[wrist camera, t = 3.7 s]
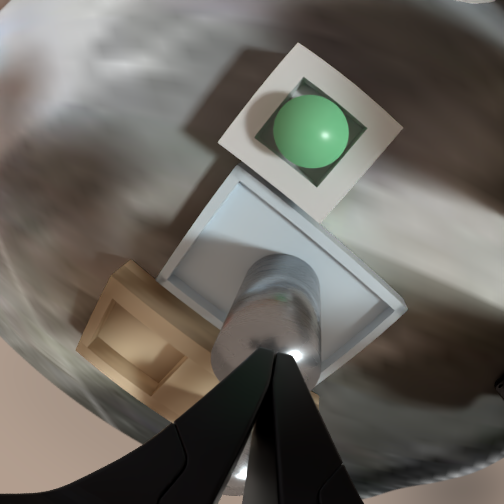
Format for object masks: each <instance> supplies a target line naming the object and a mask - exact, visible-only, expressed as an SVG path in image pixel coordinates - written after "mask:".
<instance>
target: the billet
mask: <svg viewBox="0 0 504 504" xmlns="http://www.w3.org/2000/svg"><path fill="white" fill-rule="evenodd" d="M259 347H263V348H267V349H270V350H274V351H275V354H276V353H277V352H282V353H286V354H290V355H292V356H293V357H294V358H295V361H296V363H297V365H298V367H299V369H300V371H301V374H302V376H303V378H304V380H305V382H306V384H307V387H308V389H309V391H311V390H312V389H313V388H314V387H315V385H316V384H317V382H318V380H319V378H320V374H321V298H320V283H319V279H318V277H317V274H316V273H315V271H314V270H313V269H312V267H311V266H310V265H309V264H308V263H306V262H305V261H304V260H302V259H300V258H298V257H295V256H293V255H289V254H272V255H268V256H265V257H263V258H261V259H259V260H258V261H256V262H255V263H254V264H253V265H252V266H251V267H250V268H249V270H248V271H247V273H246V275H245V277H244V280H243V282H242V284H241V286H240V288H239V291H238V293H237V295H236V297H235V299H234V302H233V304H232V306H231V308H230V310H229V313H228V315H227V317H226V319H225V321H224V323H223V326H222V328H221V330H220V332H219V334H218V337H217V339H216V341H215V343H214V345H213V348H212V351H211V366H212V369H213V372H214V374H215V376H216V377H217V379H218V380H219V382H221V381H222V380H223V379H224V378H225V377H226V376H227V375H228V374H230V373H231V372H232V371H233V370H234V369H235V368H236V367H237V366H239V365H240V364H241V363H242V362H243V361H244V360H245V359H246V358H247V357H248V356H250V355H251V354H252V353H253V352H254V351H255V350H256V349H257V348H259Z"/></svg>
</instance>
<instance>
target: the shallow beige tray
mask: <svg viewBox="0 0 504 504" xmlns="http://www.w3.org/2000/svg"><path fill="white" fill-rule="evenodd" d="M219 332H220V330H219V329H218V328H217V327H215V326H214V325H213V324H211V323H210V322H209V321H207V320H206V319H205V318H203V317H202V316H201V315H199V314H198V313H197V312H195V311H194V310H193V309H191V308H190V307H189V306H187V305H186V304H185V303H183V302H182V301H181V300H180V299H178V298H177V297H176V296H174V295H173V294H172V293H171V292H169V291H168V290H167V289H166V288H164V287H163V286H162V285H161V284H159V283H158V282H157V281H156V280H155V279H154V278H153V277H152V276H151V275H150V274H148V273H147V272H146V271H145V270H143V269H142V268H141V267H140V266H139V265H137V264H136V263H135V262H134V261H133V260H129V261H128V262H127V263H126V264H124V265H123V266H122V267H121V268H119V269H118V270H117V271H116V272H114V273H113V274H112V275H111V276H110V278H109V280H108V282H107V284H106V286H105V288H104V290H103V292H102V294H101V296H100V298H99V300H98V302H97V304H96V306H95V308H94V311H93V313H92V315H91V317H90V319H89V321H88V323H87V326H86V328H85V330H84V332H83V334H82V337H81V339H80V341H79V343H78V346H77V348H76V351H77V352H78V353H79V354H81V355H82V356H83V357H84V358H85V359H86V360H88V361H89V362H90V363H91V364H92V365H94V366H95V367H96V368H97V369H98V370H100V371H101V372H102V373H103V374H105V375H106V376H107V377H108V378H110V379H111V380H112V381H114V382H115V383H116V384H118V385H119V386H120V387H122V388H123V389H124V390H126V391H127V392H128V393H130V394H131V395H132V396H134V397H135V398H137V399H138V400H139V401H141V402H142V403H144V404H145V405H147V406H148V407H149V408H151V409H152V410H154V411H155V412H157V413H158V414H160V415H161V416H163V417H164V418H166V419H168V420H169V421H171V422H172V423H174V421H175V420H176V419H177V418H178V417H180V416H181V415H182V414H183V413H184V412H186V411H187V410H188V409H189V408H190V407H192V406H193V405H194V404H195V403H196V402H197V401H199V400H200V399H201V398H202V397H203V396H204V395H206V394H207V393H208V392H209V391H210V390H211V389H213V388H214V387H215V386H216V385H217V384H218V383H219V380H218V379H217V377H216V376H215V374H214V372H213V369H212V366H211V351H212V348H213V345H214V343H215V341H216V339H217V337H218V334H219ZM310 393H311V395H312V397H313V400H314V402H315V404H316V406H317V408H318V410H319V396H318V395H317V394H315V393H314V392H312V391H310Z"/></svg>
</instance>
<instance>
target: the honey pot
mask: <svg viewBox="0 0 504 504" xmlns="http://www.w3.org/2000/svg"><path fill="white" fill-rule="evenodd" d="M456 1H462V2H467V3H472V4H476V3H491V2H493V1H495V0H456Z"/></svg>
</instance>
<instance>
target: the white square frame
mask: <svg viewBox="0 0 504 504" xmlns="http://www.w3.org/2000/svg"><path fill="white" fill-rule="evenodd" d="M303 95H317V96H321V97H324V98H326V99H328V100H330V101H332V102H333V103H334V104H335V105H337V106H338V107H339V109H340V110H341V111H342V112H343V114H344V116H345V118H346V120H347V123H348V129H349V137H348V142H347V145H346V148H345V150H344V151H343V153H342V154H341V156H340V157H339V158H338V159H336V160H335V161H334V162H332V163H331V164H329V165H327V166H324V167H320V168H305V167H301V166H298V165H296V164H294V163H292V162H290V161H289V160H288V159H286V158H285V157H284V156H283V155H282V153H281V152H280V151H279V149H278V147H277V145H276V143H275V140H274V134H273V127H274V121H275V118H276V116H277V114H278V112H279V110H280V109H281V108H282V107H283V106H284V105H285V104H286V103H287V102H288V101H290V100H292V99H294V98H296V97H299V96H303ZM402 129H403V127H402V126H401V125H400V124H399V123H398V122H397V121H396V120H395V119H394V118H393V117H391V116H390V115H389V114H388V113H387V112H386V111H385V110H384V109H383V108H382V107H380V106H379V105H378V104H377V103H376V102H375V101H374V100H373V99H371V98H370V97H369V96H368V95H367V94H366V93H364V92H363V91H362V90H361V89H360V88H358V87H357V86H356V85H355V84H354V83H352V82H351V81H350V80H349V79H347V78H346V77H345V76H344V75H342V74H341V73H340V72H338V71H337V70H336V69H334V68H333V67H332V66H330V65H329V64H328V63H326V62H325V61H324V60H322V59H321V58H320V57H318V56H317V55H315V54H314V53H313V52H311V51H310V50H308V49H307V48H305V47H304V46H303V45H301V44H300V43H297V44H296V45H295V46H294V47H293V49H292V50H291V51H290V52H289V53H288V54H287V55H286V57H285V58H284V59H283V60H282V61H281V63H280V64H279V65H278V66H277V67H276V68H275V70H274V71H273V72H272V73H271V74H270V76H269V77H268V78H267V79H266V81H265V82H264V83H263V84H262V85H261V87H260V88H259V89H258V90H257V92H256V93H255V94H254V95H253V97H252V98H251V99H250V101H249V102H248V103H247V104H246V106H245V107H244V108H243V109H242V111H241V112H240V113H239V115H238V116H237V117H236V119H235V120H234V121H233V123H232V124H231V125H230V127H229V128H228V129H227V131H226V132H225V133H224V135H223V136H222V137H221V139H220V140H219V141H218V143H219V144H220V145H221V146H223V147H224V148H225V149H227V150H228V151H229V152H231V153H232V154H233V155H235V156H236V157H237V158H239V159H240V160H241V161H242V162H244V163H245V164H246V165H248V166H249V167H250V168H251V169H253V170H254V171H255V172H257V173H258V174H259V175H260V176H262V177H263V178H264V179H266V180H267V181H268V182H269V183H271V184H272V185H273V186H274V187H276V188H277V189H278V190H279V191H281V192H282V193H283V194H284V195H286V196H287V197H288V198H289V199H290V200H292V201H293V202H294V203H295V204H297V205H298V206H299V207H300V208H301V209H303V210H304V211H305V212H306V213H307V214H309V215H310V216H311V217H312V218H313V219H315V220H316V221H317V222H318V223H319V224H320V223H321V222H322V221H323V220H324V219H325V218H326V216H327V215H328V214H329V213H330V212H331V211H332V210H333V209H334V207H335V206H336V205H337V204H338V203H339V202H340V201H341V200H342V198H343V197H344V196H345V195H346V194H347V193H348V192H349V190H350V189H351V188H352V187H353V186H354V185H355V184H356V182H357V181H358V180H359V179H360V178H361V177H362V176H363V174H364V173H365V172H366V171H367V170H368V169H369V168H370V166H371V165H372V164H373V163H374V162H375V161H376V159H377V158H378V157H379V156H380V155H381V154H382V152H383V151H384V150H385V149H386V148H387V147H388V145H389V144H390V143H391V142H392V141H393V140H394V138H395V137H396V136H397V135H398V134H399V132H400V131H401V130H402Z"/></svg>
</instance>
